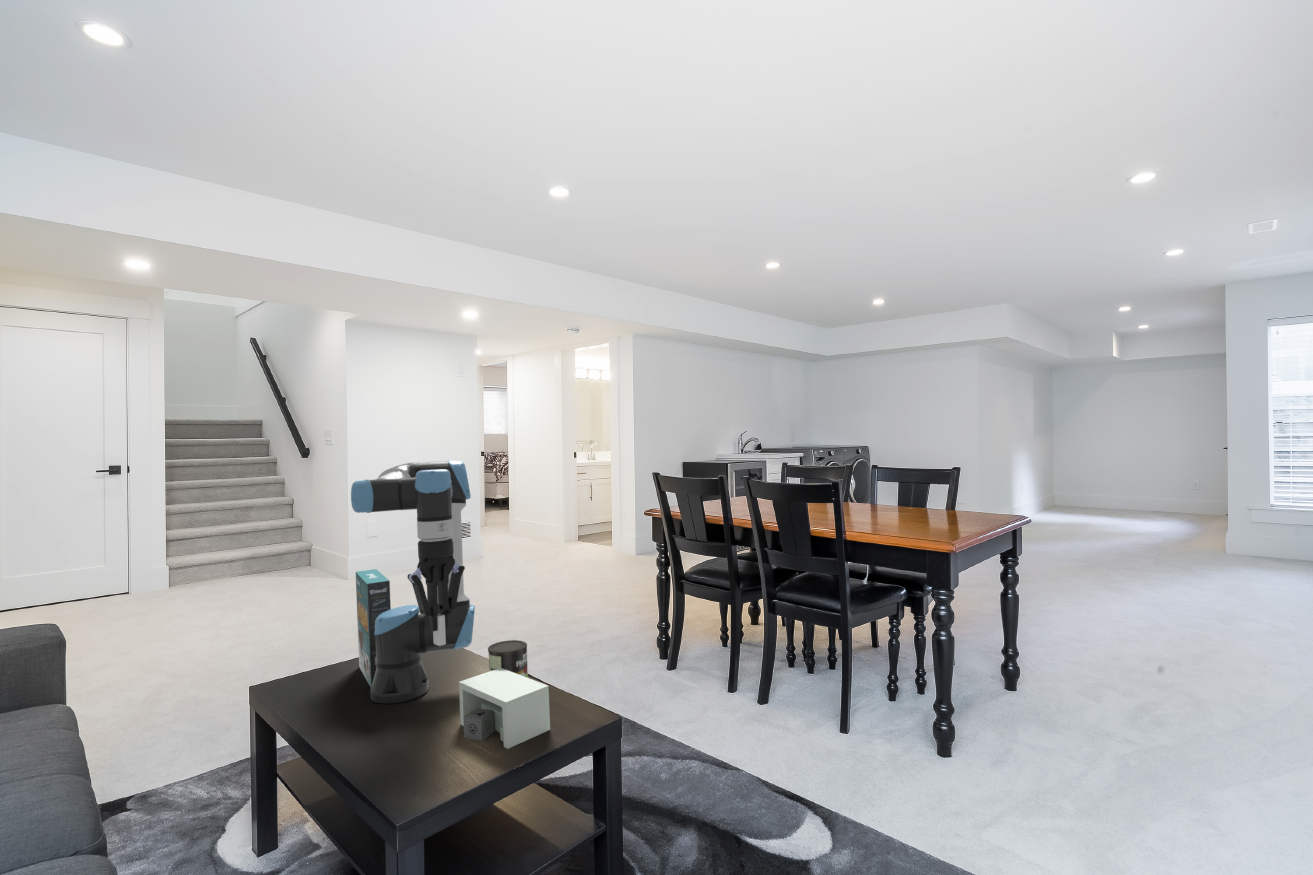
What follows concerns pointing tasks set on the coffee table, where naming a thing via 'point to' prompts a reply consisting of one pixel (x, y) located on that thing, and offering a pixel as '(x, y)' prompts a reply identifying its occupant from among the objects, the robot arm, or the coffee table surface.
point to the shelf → (508, 704)
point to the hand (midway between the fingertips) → (439, 643)
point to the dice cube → (479, 724)
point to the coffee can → (509, 656)
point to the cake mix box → (370, 616)
